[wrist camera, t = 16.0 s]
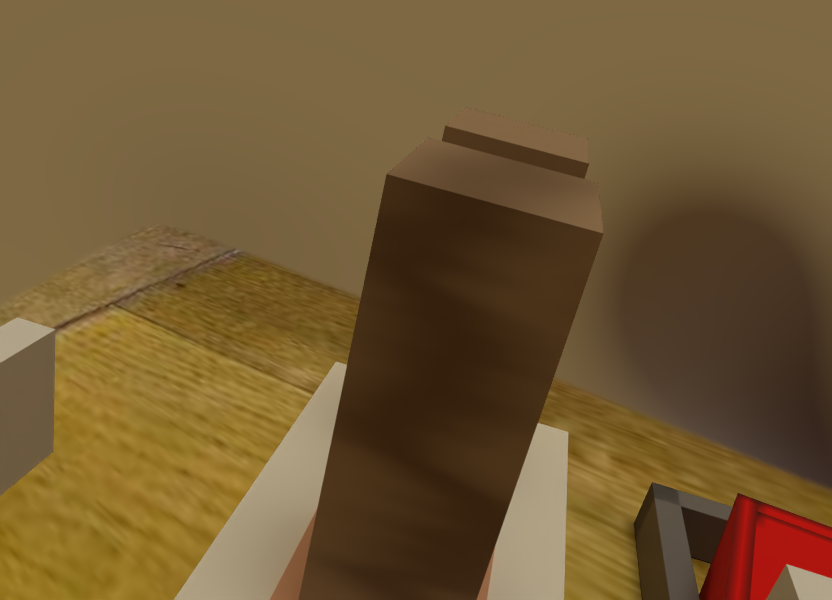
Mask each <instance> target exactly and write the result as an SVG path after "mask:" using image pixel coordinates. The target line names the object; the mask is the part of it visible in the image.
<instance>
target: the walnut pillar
mask: <svg viewBox="0 0 832 600" xmlns="http://www.w3.org/2000/svg"><path fill="white" fill-rule="evenodd" d="M602 236H603V225H602V215H601V206H600V196H599V186H598V183H596V182H593V181H590V180H586V179H582V178H578V177H575V176H571V175H567V174H563V173H560V172H556V171H552V170H548V169H545V168H541V167H537V166H533V165H530V164H526V163H522V162H518V161H515V160H511V159H507V158H503V157H500V156H496V155H492V154H488V153H485V152H481V151H477V150H474V149H470V148H466V147H462V146H459V145H455V144H451V143H447V142H444V141H440V140H436V139H432V138H427V139H426V140H425V141H424V142H422V143H421V144H420V145H419V146H418V147H417V148H416V149H415V150H413V151H412V152H411V153H410V154H409V155H408V156H407V157H405V158H404V159H403V160H402V161H401V162H400V163H399V164H398V165H396V166H395V167H394V168H393V169H392V170H391V171H390V172H388V173H387V175H386V180H385V185H384V190H383V194H382V199H381V204H380V209H379V214H378V218H377V223H376V228H375V233H374V238H373V243H372V247H371V253H370V257H369V262H368V267H367V271H366V276H365V281H364V286H363V291H362V295H361V300H360V305H359V310H358V315H357V320H356V324H355V329H354V334H353V339H352V344H351V348H350V353H349V358H348V363H347V368H346V373H345V377H344V382H343V387H342V392H341V397H340V402H339V406H338V411H337V416H336V421H335V426H334V430H333V435H332V440H331V445H330V450H329V455H328V459H327V464H326V469H325V474H324V479H323V483H322V488H321V493H320V498H319V503H318V508H317V512H316V517H315V522H314V527H313V532H312V536H311V541H310V546H309V551H308V556H307V561H306V565H305V570H304V575H303V580H302V585H301V589H300V594H299V599H298V600H477V597H478V594H479V591H480V588H481V586H482V583H483V580H484V577H485V574H486V571H487V568H488V565H489V563H490V560H491V557H492V554H493V551H494V548H495V545H496V542H497V539H498V537H499V534H500V531H501V528H502V525H503V522H504V519H505V516H506V513H507V511H508V508H509V505H510V502H511V499H512V496H513V493H514V490H515V487H516V485H517V482H518V479H519V476H520V473H521V470H522V467H523V464H524V461H525V459H526V456H527V453H528V450H529V447H530V444H531V441H532V438H533V435H534V433H535V430H536V427H537V424H538V421H539V418H540V415H541V412H542V409H543V407H544V404H545V401H546V398H547V395H548V392H549V389H550V386H551V383H552V381H553V378H554V375H555V372H556V369H557V366H558V363H559V360H560V357H561V354H562V352H563V349H564V346H565V343H566V340H567V337H568V334H569V332H570V329H571V325H572V323H573V320H574V317H575V314H576V311H577V308H578V306H579V302H580V300H581V297H582V294H583V291H584V288H585V285H586V282H587V279H588V277H589V273H590V271H591V268H592V265H593V262H594V259H595V256H596V254H597V251H598V248H599V245H600V242H601V239H602Z"/></svg>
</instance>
